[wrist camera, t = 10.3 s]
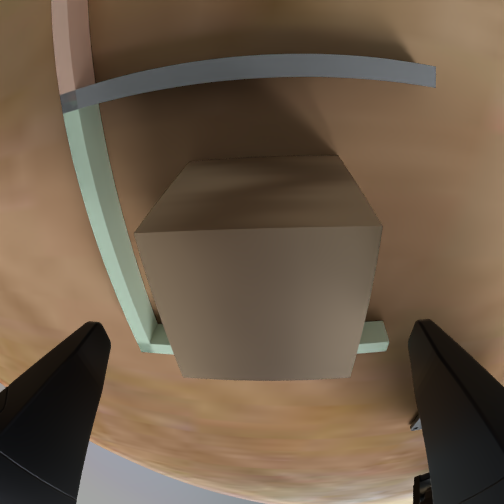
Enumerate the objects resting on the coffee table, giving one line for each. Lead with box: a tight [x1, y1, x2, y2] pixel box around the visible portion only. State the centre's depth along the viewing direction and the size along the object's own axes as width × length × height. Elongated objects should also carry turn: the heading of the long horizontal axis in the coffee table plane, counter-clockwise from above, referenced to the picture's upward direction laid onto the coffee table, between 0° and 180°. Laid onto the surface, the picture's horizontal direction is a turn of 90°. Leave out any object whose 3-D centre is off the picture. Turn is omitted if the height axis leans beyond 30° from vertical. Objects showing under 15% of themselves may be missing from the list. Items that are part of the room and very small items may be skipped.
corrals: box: [51, 0, 436, 354], centre depth 10 cm, size 27×14×2 cm, turn 4°
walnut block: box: [134, 155, 383, 381], centre depth 11 cm, size 6×6×6 cm
